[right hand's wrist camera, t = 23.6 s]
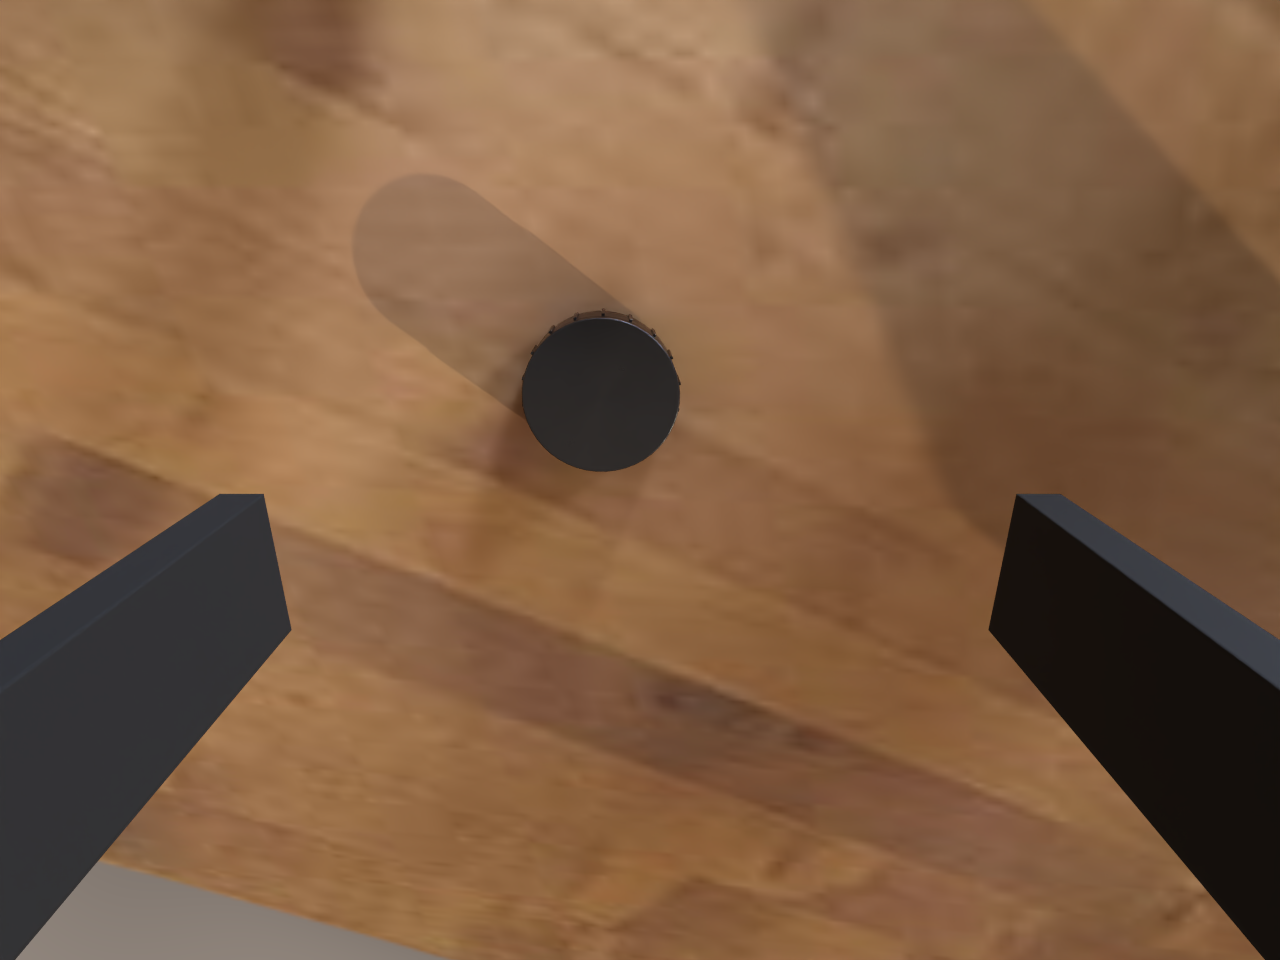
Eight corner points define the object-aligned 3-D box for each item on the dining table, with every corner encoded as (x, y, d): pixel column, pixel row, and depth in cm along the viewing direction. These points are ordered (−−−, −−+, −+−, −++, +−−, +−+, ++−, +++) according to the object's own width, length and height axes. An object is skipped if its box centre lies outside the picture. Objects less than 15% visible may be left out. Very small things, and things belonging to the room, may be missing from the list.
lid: (539, 294, 24) (533, 299, 23) (693, 327, 25) (699, 335, 23) (515, 441, 26) (508, 457, 25) (659, 469, 27) (662, 486, 25)
